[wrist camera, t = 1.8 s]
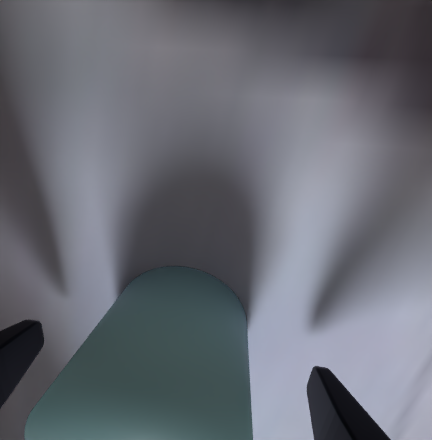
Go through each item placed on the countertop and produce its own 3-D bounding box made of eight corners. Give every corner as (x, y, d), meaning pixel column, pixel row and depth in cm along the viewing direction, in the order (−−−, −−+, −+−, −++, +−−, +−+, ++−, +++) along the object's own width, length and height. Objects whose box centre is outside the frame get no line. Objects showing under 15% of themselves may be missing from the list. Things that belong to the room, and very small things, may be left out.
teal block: (258, 277, 8) (278, 408, 4) (236, 381, 9) (235, 547, 5) (116, 255, 8) (5, 359, 4) (118, 361, 9) (39, 507, 6)
